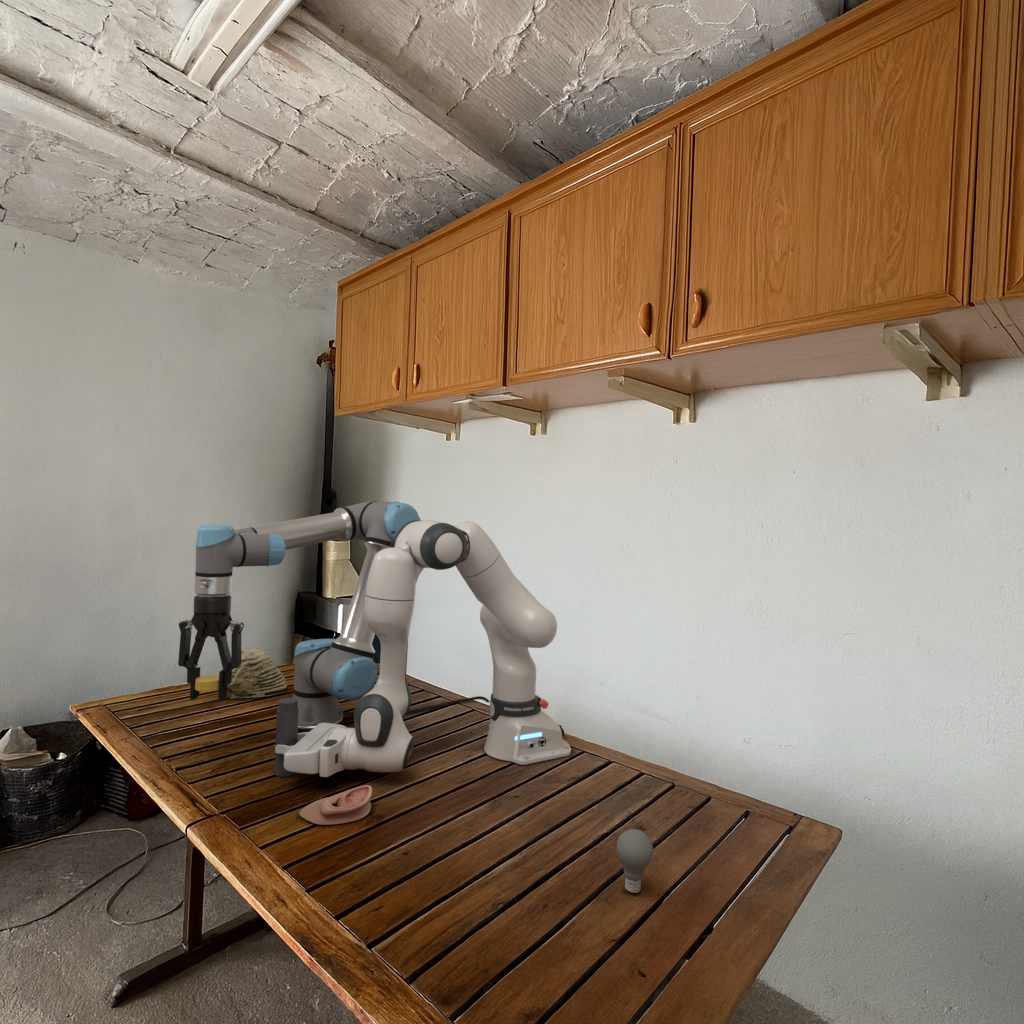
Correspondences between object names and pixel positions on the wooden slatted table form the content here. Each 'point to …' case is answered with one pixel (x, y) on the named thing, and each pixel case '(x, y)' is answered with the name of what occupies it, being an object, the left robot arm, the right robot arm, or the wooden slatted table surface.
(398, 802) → the wooden slatted table surface
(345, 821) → the anatomical model
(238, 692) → the fossil
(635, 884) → the light bulb
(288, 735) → the jar
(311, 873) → the wooden slatted table surface
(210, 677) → the lid
